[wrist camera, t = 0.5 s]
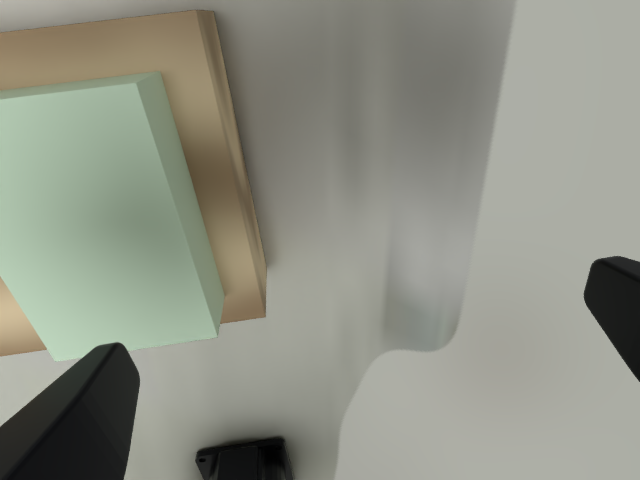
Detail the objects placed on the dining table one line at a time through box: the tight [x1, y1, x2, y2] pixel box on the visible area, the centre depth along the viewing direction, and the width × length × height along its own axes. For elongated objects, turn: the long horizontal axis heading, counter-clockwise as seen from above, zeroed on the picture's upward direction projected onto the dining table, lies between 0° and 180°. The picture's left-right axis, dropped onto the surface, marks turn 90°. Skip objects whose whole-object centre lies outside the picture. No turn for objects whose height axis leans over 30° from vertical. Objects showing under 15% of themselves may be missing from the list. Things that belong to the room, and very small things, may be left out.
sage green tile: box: [0, 71, 225, 362], centre depth 13 cm, size 9×6×2 cm, turn 6°
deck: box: [0, 10, 267, 356], centre depth 16 cm, size 12×13×4 cm
